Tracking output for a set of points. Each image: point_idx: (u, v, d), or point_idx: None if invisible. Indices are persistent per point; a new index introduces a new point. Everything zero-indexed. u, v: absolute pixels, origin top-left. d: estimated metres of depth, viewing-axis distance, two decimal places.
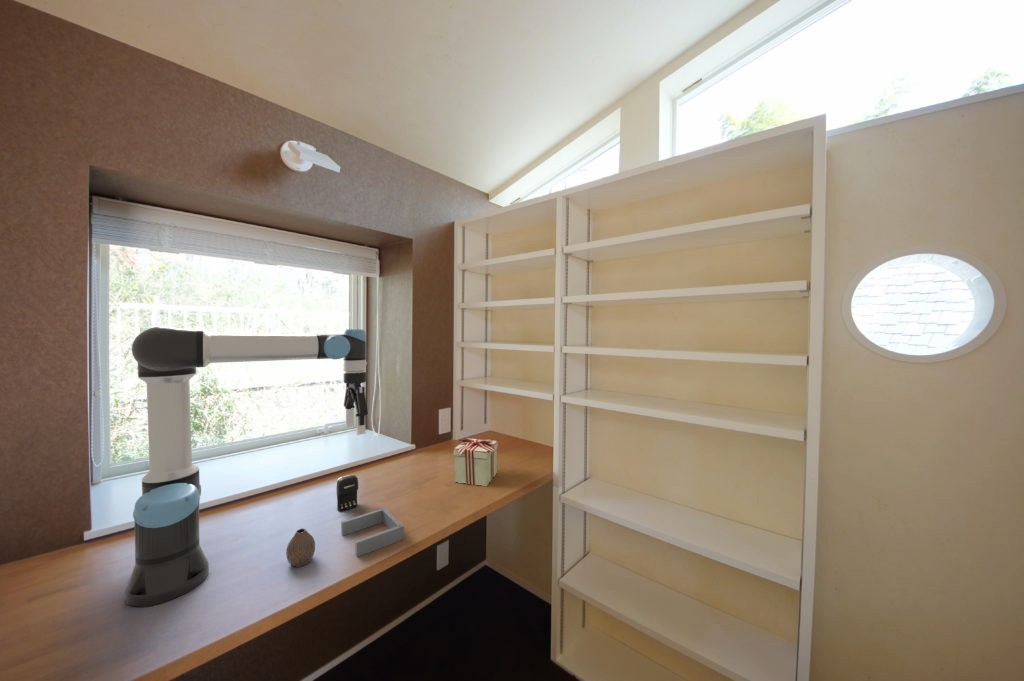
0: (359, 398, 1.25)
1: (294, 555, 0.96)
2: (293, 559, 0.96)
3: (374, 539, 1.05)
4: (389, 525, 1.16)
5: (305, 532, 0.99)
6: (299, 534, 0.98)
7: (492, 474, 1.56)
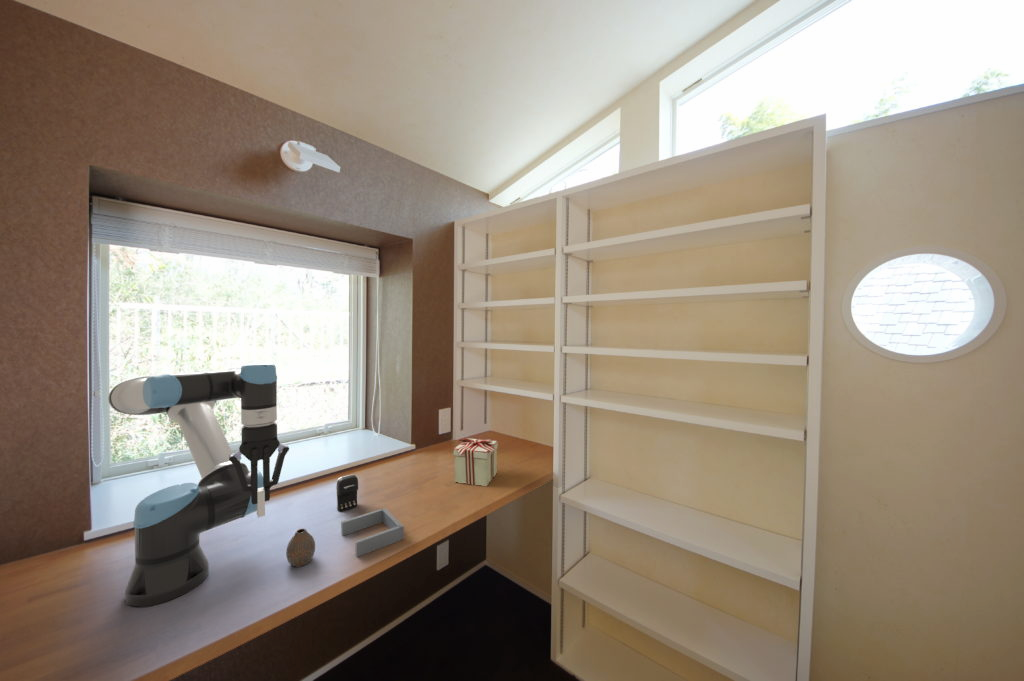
0: None
1: (294, 555, 0.96)
2: (293, 559, 0.96)
3: (374, 539, 1.05)
4: (389, 525, 1.16)
5: (305, 532, 0.99)
6: (299, 534, 0.98)
7: (492, 474, 1.56)
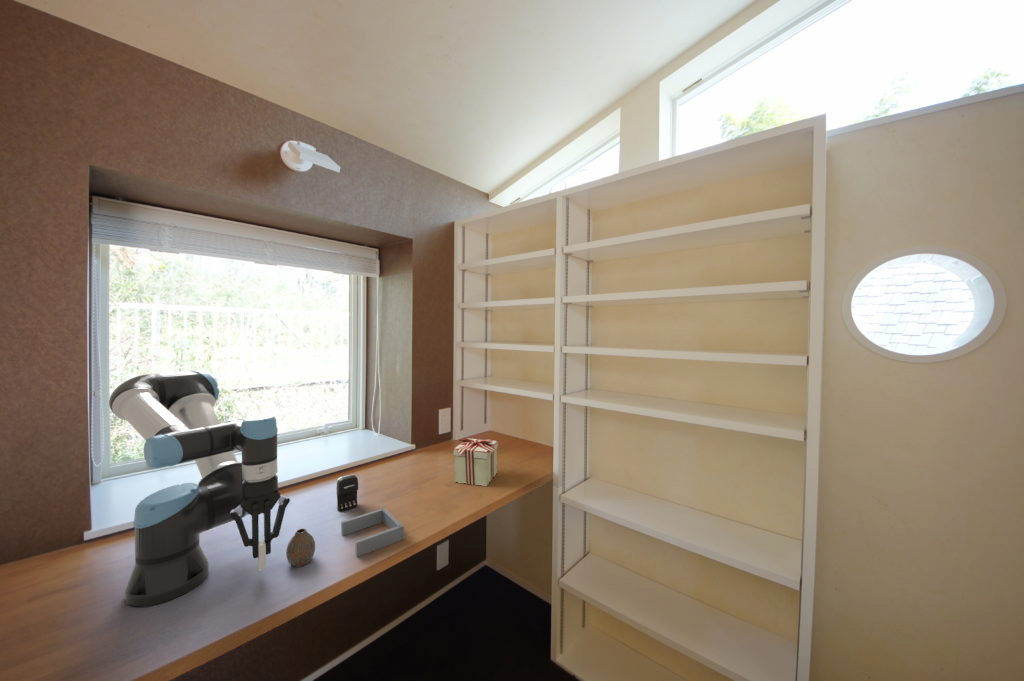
0: None
1: (294, 555, 0.96)
2: (293, 559, 0.96)
3: (374, 539, 1.05)
4: (389, 525, 1.16)
5: (305, 532, 0.99)
6: (299, 534, 0.98)
7: (492, 474, 1.56)
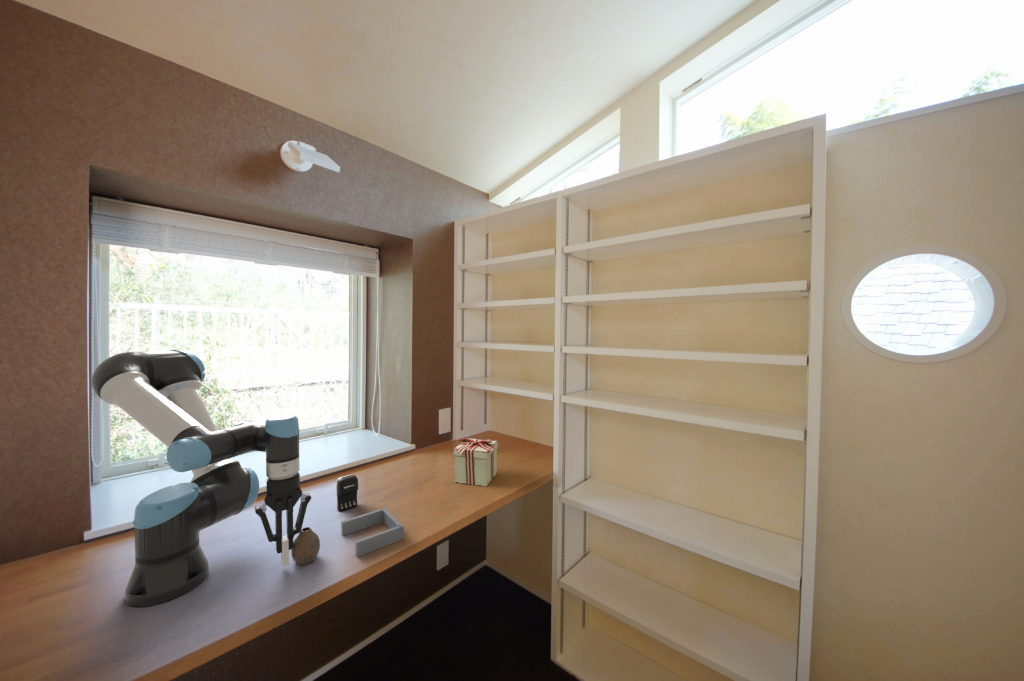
0: None
1: (299, 553, 0.97)
2: (298, 557, 0.97)
3: (374, 539, 1.05)
4: (389, 525, 1.16)
5: (310, 531, 1.00)
6: (304, 532, 0.99)
7: (492, 474, 1.56)
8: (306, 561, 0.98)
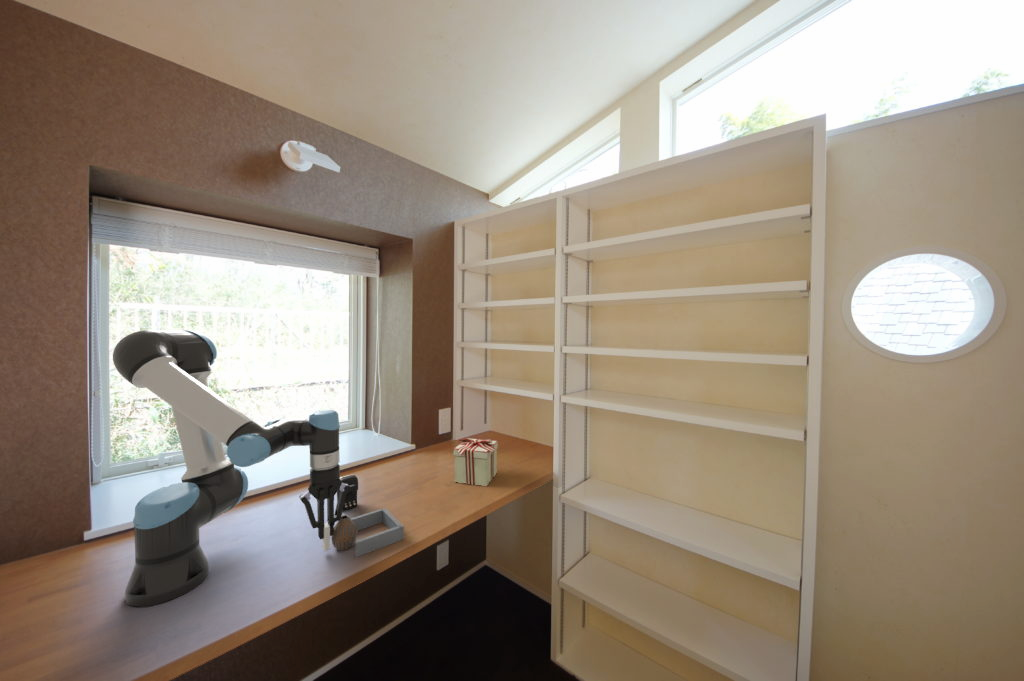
0: None
1: (340, 539, 1.03)
2: (338, 543, 1.04)
3: (374, 539, 1.05)
4: (389, 525, 1.16)
5: (348, 518, 1.07)
6: (343, 520, 1.05)
7: (492, 474, 1.56)
8: (345, 547, 1.04)
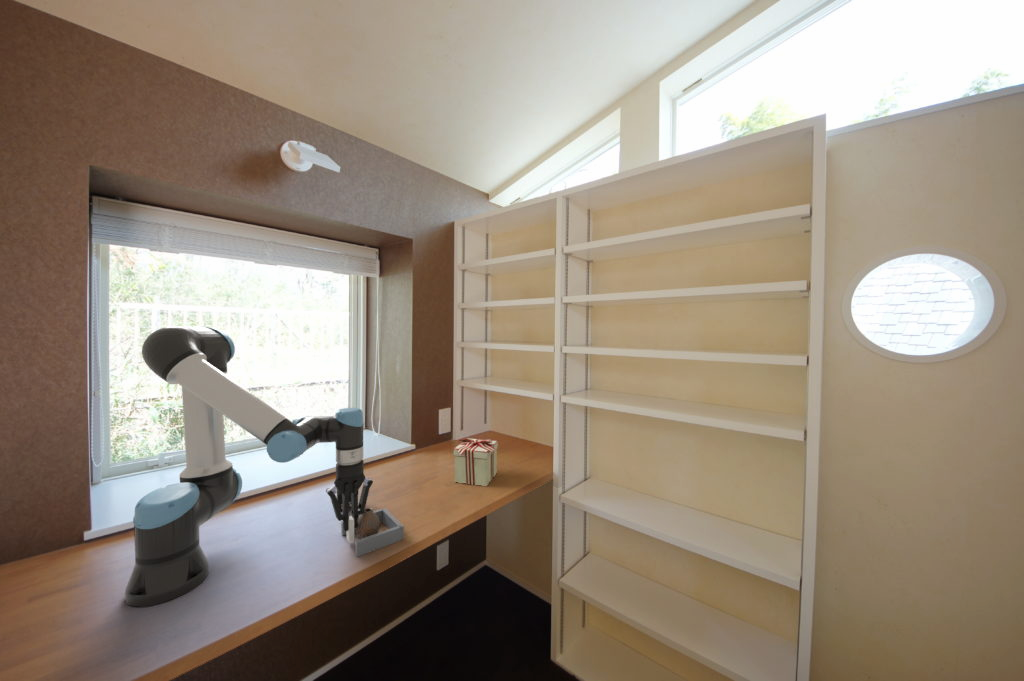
0: (331, 501, 1.05)
1: (363, 531, 1.08)
2: (362, 534, 1.08)
3: (374, 539, 1.05)
4: (389, 525, 1.16)
5: (371, 511, 1.11)
6: (367, 513, 1.10)
7: (492, 474, 1.56)
8: None
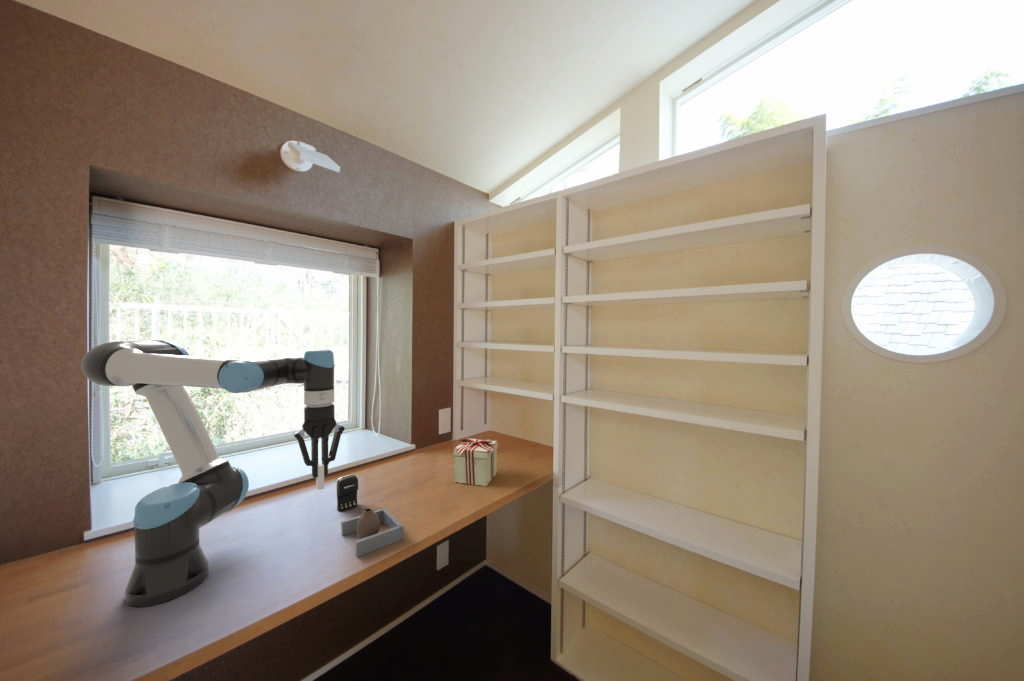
0: (299, 445, 1.00)
1: (364, 531, 1.08)
2: (362, 534, 1.08)
3: (374, 539, 1.05)
4: (389, 525, 1.16)
5: (372, 511, 1.11)
6: (367, 513, 1.10)
7: (492, 474, 1.56)
8: None
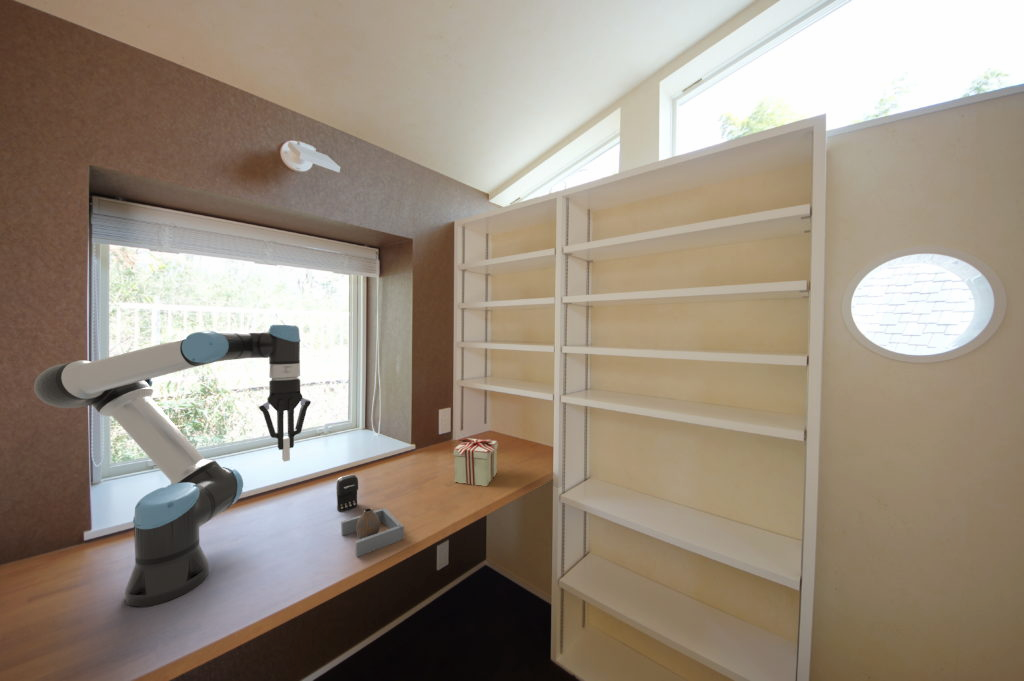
0: None
1: (364, 531, 1.08)
2: (362, 534, 1.08)
3: (374, 539, 1.05)
4: (389, 525, 1.16)
5: (372, 511, 1.11)
6: (367, 513, 1.10)
7: (492, 474, 1.56)
8: None
